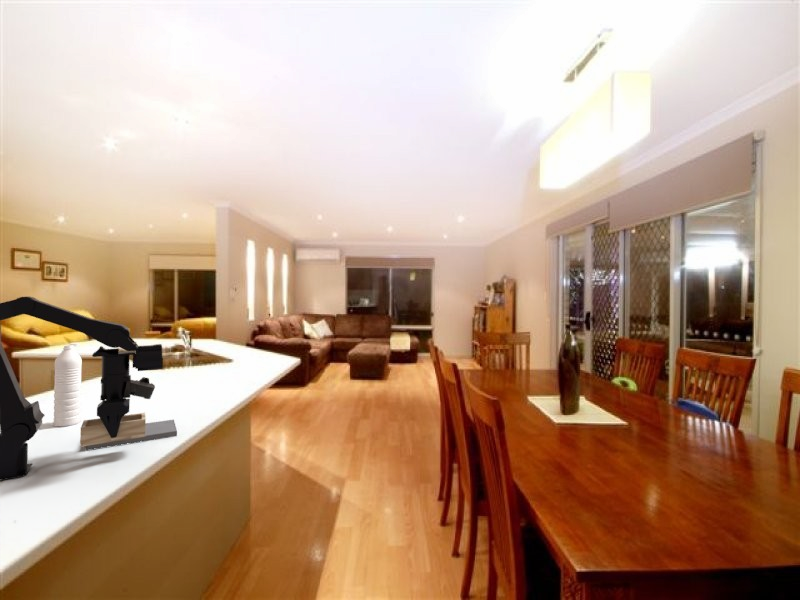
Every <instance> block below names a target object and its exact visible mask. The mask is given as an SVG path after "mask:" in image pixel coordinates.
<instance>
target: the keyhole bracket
mask: <svg viewBox="0 0 800 600" xmlns="http://www.w3.org/2000/svg"><path fill="white" fill-rule="evenodd" d="M146 419H147V418H146V412H138V413H133V414H125V415H124V416H123V417H122V418H121V421H120V425H119V429H118V433H117V437H115V438H111V437H110V435H109V433H108V431H107V429H106V427H105V426H104V424H103V422H102V421H101V419H100V417H98V418H93V419H84V420H83V422H82V425H81V426H80V438H79V439H80V442H79V443H80V447H86V446H88V445H94V444H101V443H107V442H114V441H120V440H127V439H133V438H139V437H145V423H146Z"/></svg>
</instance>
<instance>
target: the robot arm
mask: <svg viewBox="0 0 800 600" xmlns="http://www.w3.org/2000/svg"><path fill="white" fill-rule="evenodd" d="M21 315H27V316H29V317H33V318H36V319H39V320H43V321H45V322H49V323H52V324H54V325H56V326H61V327H63V328H67V329H70V330H73V331H76V332H80V333H82V334H84V335H86V336H88V337H90V338H91V339H93V340H95V341H97V342H99V343H101V344H103V345H104V346H107V347H110V348H105V347H104V346H103V345H101V346H99V348H98V349H97V350H96V351H94V352H93V353H92V354H91V356H92V357H93V358H98V357H101V378H100V386H101V387H100V388H101V389H100V390H101V392H100V393H101V394H100V399H99V400H100V401H101V402H99V404H97V407H96V417H98V418H100V419H101V421H102V422H103V424H104V426H105V427H106V429H107V431H108V433H109V435H110V437H111V438H115V437H117V433H118V429H119V425H120V421H121V418H122V417H123V416H124V415H128V413H130V400H131V399H130V398H131V396H134V397H138V398H143V399H145V400H151V398H152V395H153V393H154V390H155V388H156V386H155V384H153V383H152V382H151V383H150V378H149V377H144V376H143V377H142V378H140V379H137V380H134V379H132V376H131V375H132V374H130V362H131V361H130V359H131V358H130V357H131V356H132V368H135V369H137V372H144V371H157V370H158V371H160V370H163V368H164V366H163V365H164V357H163V346H162V344H160V343H157V344H151V345H138V344H137V341H135V340H134V339H133V338H132V336H131V331H130V329H129V327H128V326H127V325H125V324H123V323H119V322H114V321H110V320H109V321H108V320H103V319H97V318H96V319H95V318H91V317H88V316H86V315H83V314H79V313H76V312H74V311H71V310H67V309H65V308H61V307H59V306H56V305H53V304H50V303H48V302H44V301H41V300H39V299H37V298H36V297H33V296H19V297H17V298H15V299H13V300H11V299H10V300H8V301H4V302H0V322H1V321H3V320H7V319H11V318H15V317H17V316H18V317H19V316H21ZM120 349H122V350H124V351H120ZM44 417H45V414H44V413H43V412H42V411H41V408H40V402H39V401H38V400H37V401H33V402H32V403H31V402H30V401H29V400H28V399H26V397H25V396H24V393H23V391H22V389H21V387H20V384H19V382H18V379H17V377H16V375H15V372H14V369H13V367H12V366H11V363H10V360H9V358H8V355H7V353H6V351H5V348H4V346H3V342H2V327H1V324H0V481H4V480H10V479H15V478H21V477H25V476H27V475H28V473H29V472H30V470H31V468H32V467H33V463H28V457H29V455H28V454H29V453H28V452H29V444H28V443H27V441H29V440H31V439H32V438H33V437H34V436H35V435H36V433H37V432H38V431H39V429H40V428H41V426H42V424H43V418H44Z"/></svg>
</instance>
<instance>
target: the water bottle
mask: <svg viewBox="0 0 800 600" xmlns="http://www.w3.org/2000/svg"><path fill="white" fill-rule="evenodd" d="M80 346H81V345H80V342H71V343H70V342H69V344H64V345H63V348H62V349H63V350H61V353H59V355H58V356H57V357H56V358H55V359H54V383H53V384H54V386H53V388H54V389H53V391H54V394H53V398H54V400H53V404H54V405H53V410H54V411H53V426H54V427H57V428H58V427H67V426H68V427H69V426H73V425H77V424H79V423H80V422H81V420H82V414H81V412H82V408H81V407H82V367H83V365H82V364H83V362H82V361H83V359H82V357H81V356H80V354H79V353H78V352H77V351H76V350H75V347H80Z"/></svg>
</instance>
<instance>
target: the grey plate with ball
mask: <svg viewBox="0 0 800 600" xmlns="http://www.w3.org/2000/svg"><path fill="white" fill-rule="evenodd" d="M177 436H178V430H177V426H176V423H175V419H167V420H161V421H160V420H159V421H154V422H148V423H147V422H145V437H139V438H133V439H127V440H120V441H114V442H107V443H101V444H94V445H88V446H84V447H85V450H86V451H89V450H88V449H93V450H95V449H94V448H99V449H102V448H101V447H105V448H108V447H107V446H111V447H116V446H115V445H117V446H122V445H121V444H124V445H128V444H127V443H130V444H134V442H136V443H141V442H140V441H142V442H147V441H148V442H149V441H153V440H154V439H155V440H161V439H165V438H172V437H177ZM85 450H84V451H85Z"/></svg>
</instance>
